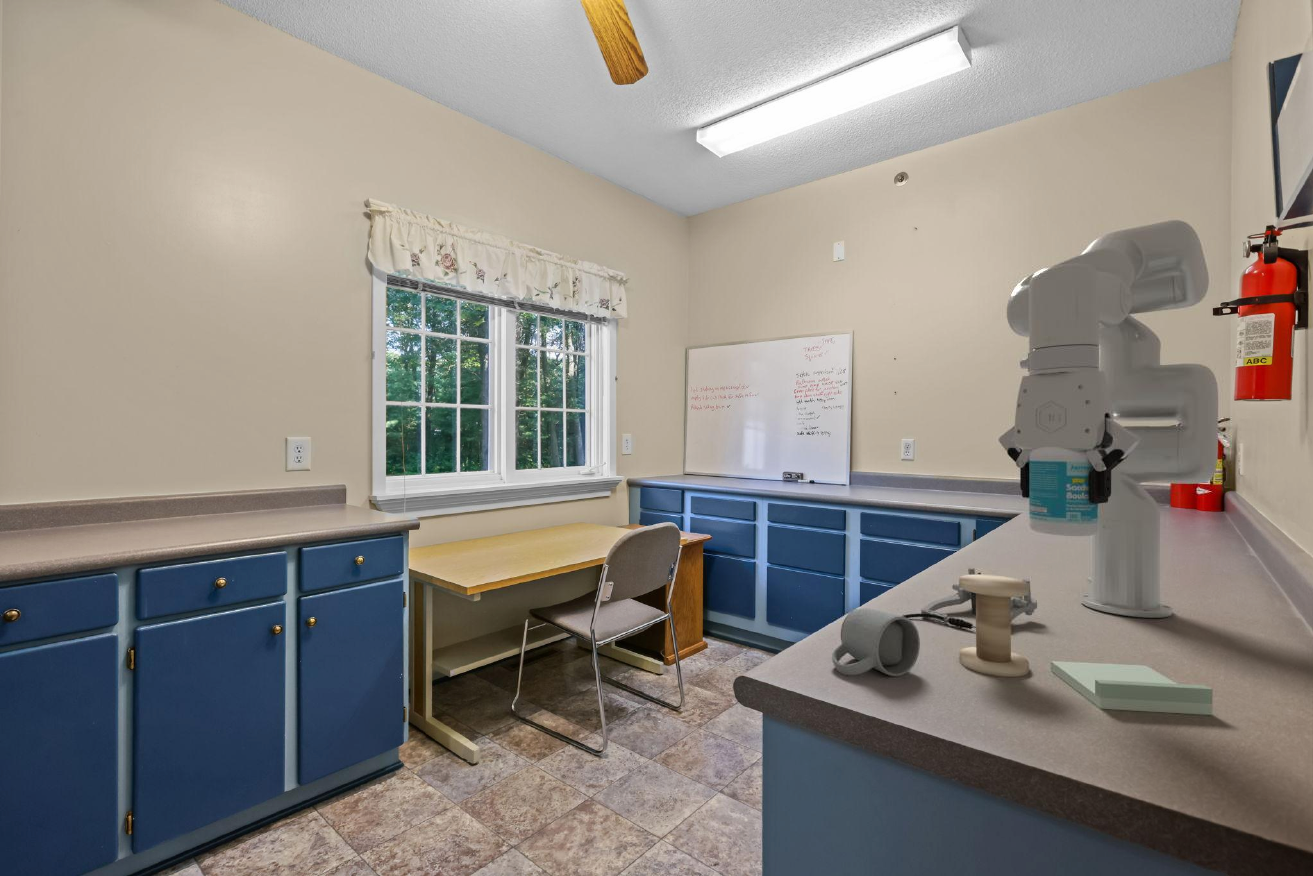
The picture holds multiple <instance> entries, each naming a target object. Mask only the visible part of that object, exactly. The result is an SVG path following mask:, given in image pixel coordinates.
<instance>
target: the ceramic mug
mask: <svg viewBox="0 0 1313 876" xmlns="http://www.w3.org/2000/svg"><path fill="white" fill-rule="evenodd" d="M840 640H841V644H840V645H838V646H837V648H835V649H834V651H833V652H832V654H831V660H832V663H833V666H834V668H835V670H836V672H838V673H840V674H842V675H844V676H858V675H863V674H864V673H866V672H868V671H870V670H872V669H875V670H877V671H880V672H881V673H883V674H885V675H887V676H890V677H900V676H904V675H906V674H908V672H910V671H911V669H913V667H914V666H915V664H916V662H917V661H918V658H919V654H920V648H921V647H920V646H921V642H920V641H921V639H920V635H919V630H918V628H917V626H916V625H915V623H914V622H913V621H912V620H911V619H910V618H906V617H903V615H898V614H894V613H889V612H885V611H880V610H878V609H873V608H867V607H866V608H865V607H864V608H862V607H861V608H857V609H853V610H852V611H851V612H849V613H848V614H847V615H846V616H845V618H844V620H843V622H842V624H841V629H840ZM847 654H849V655H850V656H851V657H852V658H854V659H855V660H857V661H858V662H853V663H850V664H842V663H841V662H839V661H840V660H841V659H842V658H843V657H844V656H846V655H847Z"/></svg>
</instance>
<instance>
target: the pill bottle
mask: <svg viewBox="0 0 1313 876" xmlns="http://www.w3.org/2000/svg"><path fill="white" fill-rule="evenodd" d="M1090 471H1094V470H1093V465H1092V464H1091V462H1090V461H1089V459H1088V457H1087V455H1086V453H1085V452H1084V451H1072V450H1069V449H1064V448H1059V447H1042V448H1037V449H1034V450H1032V451H1031V452H1030V456H1029V498H1028V499H1029V500H1028V502H1029V507H1028V510H1029V511H1028V513H1029V514H1028V517H1029V518H1028V519H1029V520H1028V521H1029V525H1028V526H1029V527H1030V529H1031V530H1032V531H1034V532H1036V533H1039V534H1040V533H1041V534H1047V535H1054V536H1064V537H1065V536H1067V537H1089V536H1090V537H1091V535H1094V534H1095V533H1096V532H1097V531H1098V504H1094V503H1091V502H1089V472H1090Z"/></svg>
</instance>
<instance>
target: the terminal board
mask: <svg viewBox="0 0 1313 876" xmlns="http://www.w3.org/2000/svg"><path fill="white" fill-rule="evenodd" d="M1050 671H1051V672H1052V673H1053V674H1054V675H1056V676H1057V677H1058V678H1060V679H1061V680H1062V681H1064V682H1065V683H1067V685H1069V686H1070V687H1072V689H1074V690H1075V691H1077V692H1078V693H1080V694H1081V695H1082V696H1083V697H1084V698H1086V699H1087V700H1089V701H1090V702H1091V703H1092V704H1094V706H1096V707H1097V708H1099V709H1101V710H1117V711H1118V710H1119V711H1120V710H1121V711H1132V712H1133V711H1134V712H1151V713H1152V712H1154V713H1168V714H1169V713H1172V714H1183V715H1184V714H1188V715H1204V716H1207V715H1208V716H1213V715H1214V714H1213V705H1214V703H1213V699H1214V698H1213V696H1214V695H1213V693H1214V691H1213V688H1211V687H1209V686H1208V685H1203V684H1186V683H1184V684H1182V683H1177V682H1175V681H1174V680H1171V679H1170V678H1168V677H1167V676H1165V675H1163V674H1161V673H1159V672H1158V671H1156V670H1154V669H1153V668H1151V667H1149V666H1147V665H1140V664H1139V665H1138V664H1123V663H1122V664H1121V663H1119V664H1118V663H1098V662H1097V663H1096V662H1076V661H1056V660H1054V661H1053V660H1050Z"/></svg>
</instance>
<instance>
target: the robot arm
mask: <svg viewBox="0 0 1313 876" xmlns="http://www.w3.org/2000/svg"><path fill="white" fill-rule="evenodd" d="M1203 250H1204V249H1203V247H1202V243H1201V241H1200V238H1199V235H1198V233H1197V232H1196V230H1195V229H1194V228H1193V226H1191V225H1190V224H1189V223H1188V222H1185V221H1184V220H1178V219H1172V220H1167V221H1162V222H1155V223H1151V224H1146V225H1141V226H1137V227H1131V228H1126V229H1122V230H1117V231H1113V232H1109V233H1106V234H1103V235H1102V236H1100V237H1098V238H1097V239H1095V240H1094V241H1092V242H1091V243H1090V244H1089V245H1088V246H1087V248H1086V249H1085V250H1083V252H1082V253H1081V254H1079V255H1076V256H1075V257H1071V258H1069V259H1067V260H1064V261H1062V262H1060V263H1057V264H1055V265H1052V266H1049V267H1045V268H1042V269H1041V270H1039V271H1037V272H1035V273H1032V274H1030V275H1028V276H1027V277H1025V278H1024V279H1023V280H1022V281H1020V283H1018V284H1017V285H1016V287H1015V288H1014V289H1013V291H1012V293H1011V294H1010V296H1009V299H1008V302H1007V306H1006V318H1007V322H1008V325H1009V328H1010V329H1011V330H1012V331H1013V333H1015V334H1017V335H1018V336H1021V337H1025V338H1027V337H1028V338H1029V339H1028V341H1029V342H1028V345H1029V346H1028V348H1029V349H1028V352H1027V357H1026V358H1023V359H1021V360H1020V362H1019V366H1020V369H1022V370H1023V369H1024V370H1026V369H1027V372H1028V375H1024V376H1022V378H1021V381H1020V384H1019V390H1018V394H1017V399H1016V405H1015V406H1016V407H1015V417H1014V425H1013V426H1012V427H1010V429H1008V430H1007V431H1006V432H1004V433H1003V434H1002V435H1001V436H999V438H998V441H999V444H1000V445H1001V446H1002V447H1003V448H1004V451H1006V453H1007V455H1008V457H1010V458H1011V459H1012V460H1013V461H1014V463H1015V466H1016V467H1017V468H1019V470H1020V471H1019V472H1020V473H1019V475H1020V476H1019V477H1020V478H1019V480H1020V484H1019V485H1020V487H1019V488H1020V491H1021V497H1022V498H1025V499H1029V456H1030V452H1031V451H1032V450H1034V449H1037V448H1042V447H1059V448H1064V449H1069V450H1072V451H1084V452H1085V453H1086V455H1087V457H1088V459H1089V461H1090V462H1091V464H1092V465H1093V470H1094V471H1090V472H1089V502H1091V503H1094V504H1098V531H1097V532H1096V533H1095V534H1094V535H1091V536H1090V575H1091V576H1089V577H1088V578H1087V580H1086V581H1087V584H1089V585H1090V592H1085V593H1082V594H1081V595H1080V603H1081V604H1083V605H1084V606H1086V607H1088V608H1090V609H1093V610H1096V611H1100V612H1105V613H1109V614H1115V615H1119V616H1127V617H1134V618H1149V619H1150V618H1151V619H1158V618H1166V617H1170V616H1172V615H1173V607H1172V606H1171V605H1170V604H1168V603H1166V602H1163V601H1161V510H1160V507H1159V505H1158V504H1157V501H1156V500H1155V499H1154V498H1153V497H1152V495H1150V494H1149V493H1148V492H1147V491H1146V490H1145V489H1144V488H1143V487H1142V486H1141V484H1143V483H1158V484H1161V483H1162V484H1179V485H1180V484H1185V485H1186V484H1187V485H1191V484H1192V485H1193V484H1194V485H1195V484H1203V483H1206V482H1209V481H1210V480H1211V479H1212V478H1213V477H1214V476H1215V474H1216V471H1217V467H1218V456H1219V455H1218V454H1219V389H1218V382H1217V379H1216V378H1217V377H1216V376H1215V374H1214V372H1213V370H1211V368H1209V367H1208V366H1206V365H1204V364H1201V363H1177V364H1161V344H1162V343H1161V340H1160V338H1159V336H1158V335H1157V334H1156V333H1155V332H1154V331H1153V330H1152V329H1150V328H1149V327H1148V326H1147V325H1145V324H1144V323H1143V322H1142V321H1140V320H1138V319H1136V318H1135V317H1133V316H1132V315H1135V314H1143V313H1151V312H1161V311H1169V310H1177V309H1185V308H1189V307H1193V306H1196V305H1197V304H1199V303H1200V302H1202V301H1203V299H1204V298H1205V297H1206V295H1207V292H1208V290H1209V289H1208V288H1209V284H1210V282H1209V279H1210V278H1209V271H1208V267H1207V263H1206V258H1205V255H1204V251H1203ZM1117 421H1120V422H1121V421H1122V422H1124V421H1126V422H1139V421H1140V422H1143V421H1144V422H1145V421H1146V422H1149V421H1152V422H1154V421H1156V422H1157V421H1159V422H1160V421H1176V422H1178V423H1179V424H1181V425H1163V426H1162V425H1159V426H1158V425H1157V426H1156V425H1155V426H1153V425H1133V426H1132V425H1131V426H1129V425H1126V426H1125V425H1124V426H1123V425H1121V424H1119V423H1118V422H1117Z"/></svg>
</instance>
